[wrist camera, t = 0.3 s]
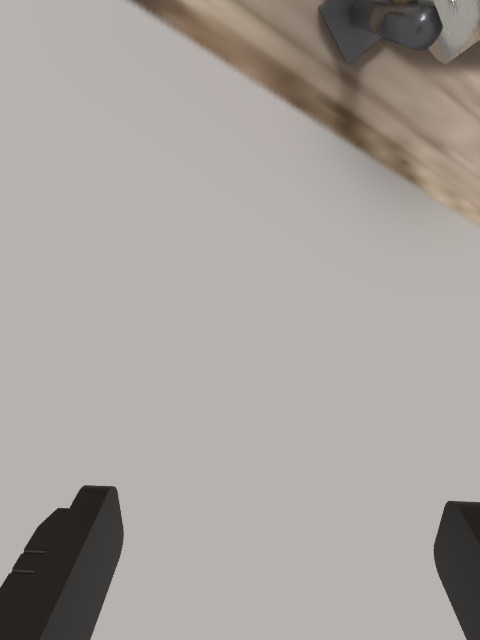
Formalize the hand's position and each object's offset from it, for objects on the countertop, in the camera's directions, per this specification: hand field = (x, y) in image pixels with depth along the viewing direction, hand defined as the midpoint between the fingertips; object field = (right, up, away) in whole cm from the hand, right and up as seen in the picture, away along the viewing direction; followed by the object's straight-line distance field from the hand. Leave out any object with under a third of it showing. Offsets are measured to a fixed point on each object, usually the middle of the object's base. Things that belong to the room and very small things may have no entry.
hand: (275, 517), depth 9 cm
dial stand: (+7, +26, +17) cm, 32 cm away
